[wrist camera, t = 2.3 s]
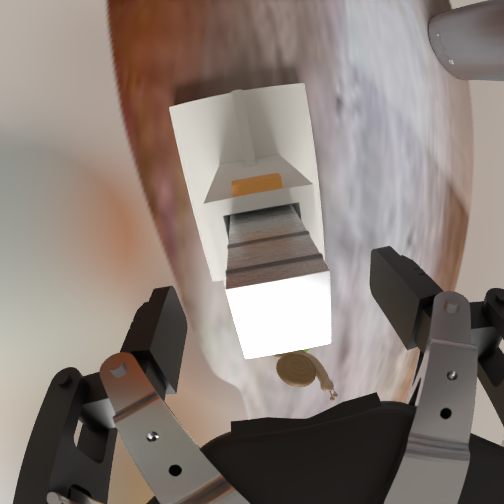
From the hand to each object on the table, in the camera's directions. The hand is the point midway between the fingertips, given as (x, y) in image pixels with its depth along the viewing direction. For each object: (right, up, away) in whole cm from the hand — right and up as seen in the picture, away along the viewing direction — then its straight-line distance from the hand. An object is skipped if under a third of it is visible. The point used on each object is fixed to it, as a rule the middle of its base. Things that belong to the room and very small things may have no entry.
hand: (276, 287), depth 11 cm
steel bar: (-1, +7, +13) cm, 15 cm away
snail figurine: (+4, -8, +24) cm, 26 cm away
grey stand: (-1, +8, +16) cm, 18 cm away
